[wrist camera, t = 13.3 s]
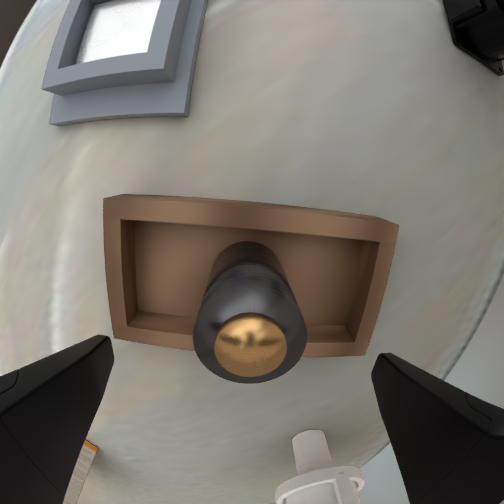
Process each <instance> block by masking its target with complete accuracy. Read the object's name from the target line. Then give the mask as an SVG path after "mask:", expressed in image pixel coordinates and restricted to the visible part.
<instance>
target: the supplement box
mask: <svg viewBox="0 0 504 504" xmlns="http://www.w3.org/2000/svg"><path fill="white" fill-rule="evenodd" d="M97 450H98V448H97V447H95V446H94V445H92V444H91V443H89V442H88V441H86V440H85V441H84V444H83V447H82V449H81V452H80V454H79V457H78V460H77V463H76V465H75V468H74V471H73V474H72V477H71V480H70V482H69V485H68V488H67V492H66V495H65V496H64V497H65V498H64V502H63V504H77V501H78V498H79V495H80V493H81V490H82V487H83V485H84V482H85V480H86V477H87V475H88V472H89V470H90V467H91V465H92V462H93V460H94V458H95V455H96V453H97Z"/></svg>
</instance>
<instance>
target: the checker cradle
mask: <svg viewBox="0 0 504 504" xmlns="http://www.w3.org/2000/svg"><path fill="white" fill-rule="evenodd" d="M110 1H114V0H70V2H69V4H68V7H67V9H66V11H65V14H64V16H63V19H62V21H61V24H60V27H59V29H58V32H57V35H56V38H55V41H54V44H53V47H52V50H51V53H50V57H49V60H48V64H47V68H46V71H45V75H44V80H43V84H42V88H41V89H42V90H45V91H48V92H52V93H54V97H53V103H52V109H51V115H50V122H49V124H51V125H57V126H59V125H66V124H72V123H80V122H87V121H96V120H106V119H118V118H133V117H159V116H188V110H189V103H190V95H191V88H192V81H193V75H194V69H195V63H196V57H197V51H198V46H199V40H200V35H201V30H202V25H203V20H204V16H205V11H206V7H207V2H208V0H161V2H160V5H159V8H158V12H157V15H156V19H155V22H154V26H153V29H152V33H151V37H150V41H149V46H148V50H147V52H144V53H135V54H128V55H121V56H115V57H109V58H103V59H98V60H93V61H89V62H84V63H80V64H76V61H77V57H78V53H79V50H80V46H81V43H82V40H83V37H84V34H85V31H86V28H87V25H88V22H89V19H90V16H91V14H92V11H93V8H94V6H95V5H98V4H102V3H106V2H110Z"/></svg>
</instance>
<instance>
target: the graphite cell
mask: <svg viewBox="0 0 504 504" xmlns="http://www.w3.org/2000/svg"><path fill="white" fill-rule="evenodd" d="M306 344H307V328H306V324H305V321H304V318H303V316H302V313H301V311H300V309H299V306H298V304H297V301H296V299H295V296H294V294H293V291H292V289H291V287H290V284H289V282H288V279H287V277H286V275H285V272H284V270H283V267H282V265H281V263H280V261H279V259H278V257H277V256H276V254H275V253H274V252H273V251H272V250H271V249H269V248H268V247H266V246H265V245H263V244H260V243H257V242H252V241H243V242H237V243H234V244H232V245H230V246H228V247H226V248H225V249H224V250H222V251H221V252H220V253H219V255H218V256H217V257H216V259H215V261H214V263H213V266H212V269H211V272H210V276H209V279H208V282H207V285H206V289H205V292H204V295H203V298H202V302H201V305H200V308H199V312H198V315H197V319H196V322H195V325H194V330H193V345H194V349H195V351H196V354H197V356H198V357H199V359H200V361H201V362H202V363H203V364H204V365H205V366H206V367H207V368H208V369H209V370H210V371H211V372H213V373H214V374H216V375H218V376H219V377H221V378H224V379H226V380H229V381H233V382H238V383H261V382H266V381H269V380H272V379H275V378H277V377H279V376H281V375H283V374H285V373H286V372H287V371H289V370H290V369H291V368H292V367H293V366H294V365H295V364H296V363H297V362H298V361H299V359H300V358H301V356H302V354H303V352H304V350H305V347H306Z"/></svg>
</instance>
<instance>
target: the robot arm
mask: <svg viewBox="0 0 504 504" xmlns="http://www.w3.org/2000/svg"><path fill="white" fill-rule="evenodd" d="M443 1H444V4H445V8H446V12H447V16H448V20H449V24H450V29H451V34H452V39H453V42H454V43H455V45H456V46H457V47H459V48H461V49H462V50H464V51H465V52H467V53H468V54H470V55H471V56H473V57H474V58H476V59H477V60H479V61H480V62H482V63H483V64H484V65H486V66H487V67H489V68H490V69H491V70H493V71H494V72H495V73H496V74H498V75H499V76H501V75H504V71H503V65H502V61H503V60H504V0H443ZM113 363H114V354H113V349H112V343H111V339H110V338H109V337H108V336H104V335H96V336H94V337H91V338H89V339H87V340H85V341H82V342H80V343H78V344H75V345H73V346H71V347H69V348H66V349H64V350H62V351H59V352H57V353H55V354H52V355H50V356H48V357H45V358H43V359H41V360H38V361H36V362H34V363H31V364H29V365H27V366H24V367H22V368H20V370H19V369H17V370H15V371H13V372H10V373H8V374H5V375H3V376H0V504H63V502H64V498H65V497H64V496H65V495H66V492H67V488H68V485H69V482H70V480H71V477H72V474H73V471H74V468H75V465H76V463H77V460H78V457H79V454H80V452H81V449H82V447H83V444H84V441H85V439H86V436H87V434H88V431H89V429H90V427H91V424H92V422H93V419H94V417H95V415H96V412H97V410H98V408H99V405H100V403H101V400H102V398H103V395H104V392H105V389H106V385H107V382H108V379H109V376H110V373H111V370H112V366H113ZM371 378H372V382H373V386H374V390H375V394H376V398H377V402H378V406H379V410H380V413H381V416H382V419H383V422H384V424H385V427H386V430H387V433H388V436H389V439H390V441H391V444H392V447H393V450H394V453H395V456H396V459H397V462H398V465H399V469H400V471H401V475H402V478H403V481H404V485H405V488H406V492H407V494H408V498H409V502H410V504H504V409H502V408H500V407H497V406H495V405H492V404H490V403H488V402H485V401H483V400H481V399H479V398H477V397H475V396H472V395H470V394H469V393H467V392H464V391H463V390H461V389H459V388H456V387H454V386H453V385H450V384H449V383H447V382H445V381H443V380H441V379H439V378H437V377H435V376H433V375H431V374H429V373H428V372H426V371H424V370H422V369H420V368H418V367H416V366H414V365H412V364H410V363H409V362H407V361H405V360H403V359H401V358H399V357H397V356H395V355H394V354H392V353H381V354H379V355H378V357H377V360H376V362H375V365H374V367H373V370H372V373H371Z"/></svg>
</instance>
